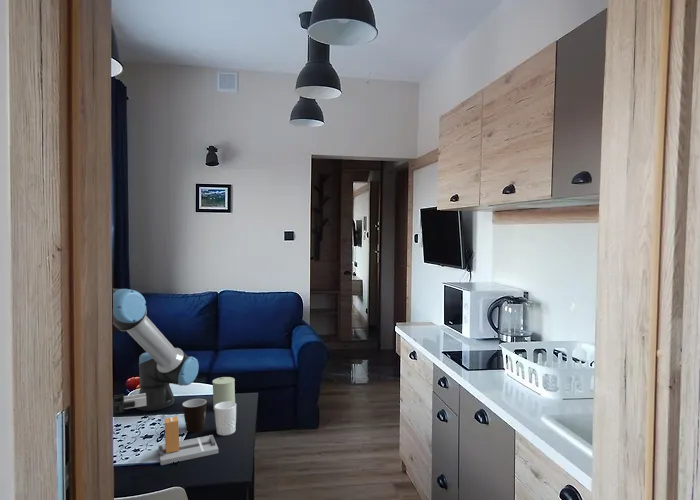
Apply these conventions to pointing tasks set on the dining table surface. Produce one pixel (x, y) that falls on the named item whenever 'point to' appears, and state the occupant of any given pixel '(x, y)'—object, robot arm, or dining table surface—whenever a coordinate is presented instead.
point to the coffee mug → (194, 414)
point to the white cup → (225, 417)
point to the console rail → (189, 450)
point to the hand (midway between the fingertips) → (145, 399)
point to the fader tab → (171, 434)
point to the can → (223, 390)
